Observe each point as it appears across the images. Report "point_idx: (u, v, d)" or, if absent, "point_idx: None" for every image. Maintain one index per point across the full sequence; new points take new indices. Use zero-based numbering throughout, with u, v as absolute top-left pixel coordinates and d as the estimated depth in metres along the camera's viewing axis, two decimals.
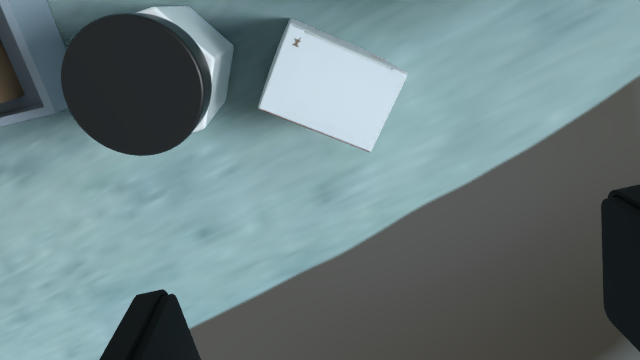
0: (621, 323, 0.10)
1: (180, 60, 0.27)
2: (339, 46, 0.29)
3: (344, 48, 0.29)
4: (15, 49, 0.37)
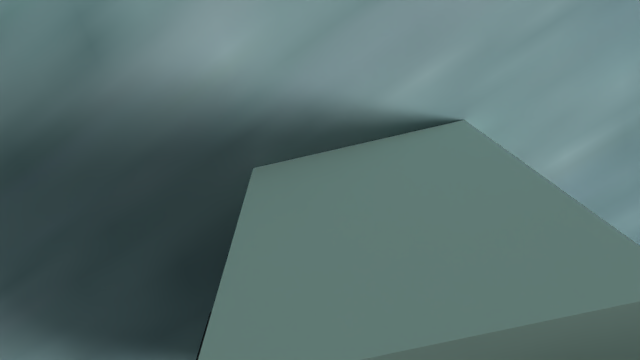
0: None
1: None
2: None
3: None
4: None
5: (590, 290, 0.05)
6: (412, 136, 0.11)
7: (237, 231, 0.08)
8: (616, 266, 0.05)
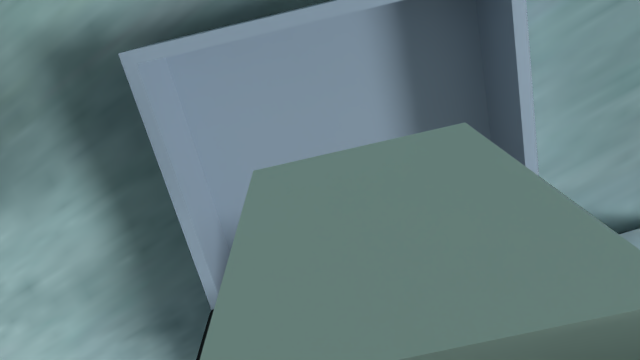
0: None
1: None
2: None
3: None
4: None
5: (592, 298, 0.05)
6: (413, 139, 0.11)
7: (237, 235, 0.08)
8: (618, 272, 0.05)
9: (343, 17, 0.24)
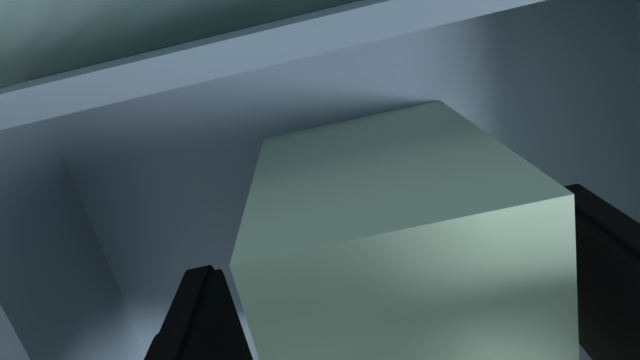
0: None
1: None
2: None
3: None
4: None
5: (505, 199, 0.07)
6: (396, 113, 0.13)
7: (255, 178, 0.10)
8: (527, 185, 0.07)
9: None
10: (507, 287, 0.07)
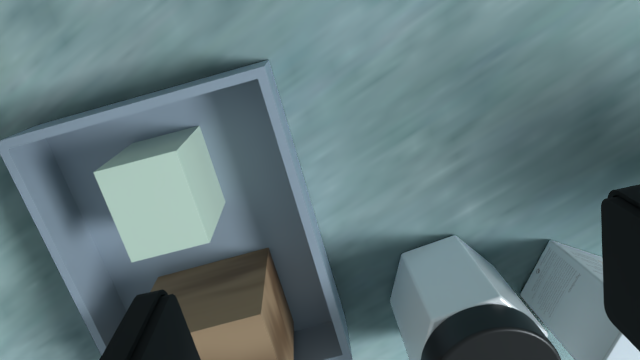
0: (621, 323, 0.10)
1: None
2: None
3: None
4: (290, 284, 0.39)
5: (163, 153, 0.28)
6: (180, 131, 0.34)
7: (116, 155, 0.31)
8: (172, 149, 0.28)
9: None
10: (166, 176, 0.28)
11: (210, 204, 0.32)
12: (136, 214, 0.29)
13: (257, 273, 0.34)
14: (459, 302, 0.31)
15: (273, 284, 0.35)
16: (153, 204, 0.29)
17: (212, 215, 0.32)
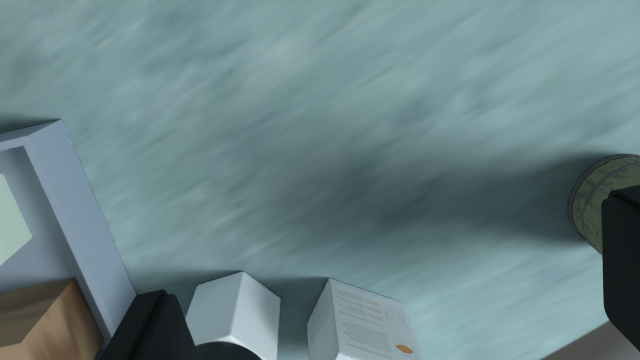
0: (621, 323, 0.10)
1: None
2: None
3: None
4: (98, 308, 0.44)
5: None
6: None
7: None
8: None
9: None
10: None
11: None
12: None
13: (48, 302, 0.40)
14: (200, 337, 0.37)
15: (68, 310, 0.41)
16: None
17: None
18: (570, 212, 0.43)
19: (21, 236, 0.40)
